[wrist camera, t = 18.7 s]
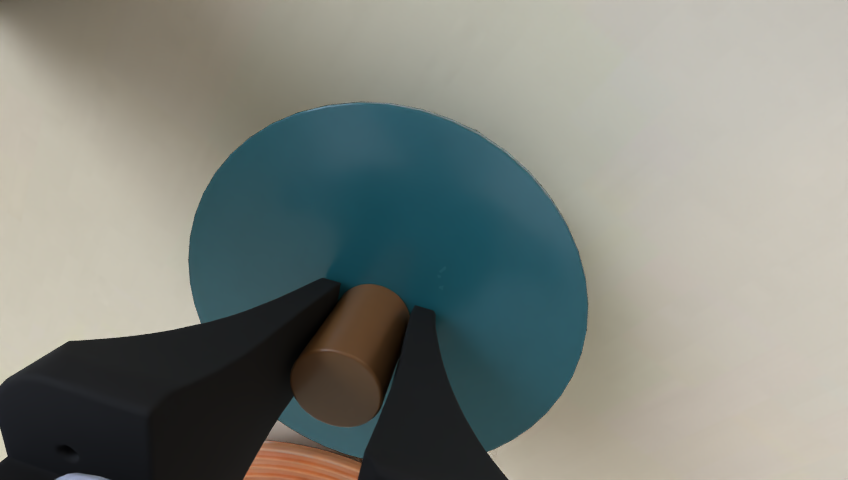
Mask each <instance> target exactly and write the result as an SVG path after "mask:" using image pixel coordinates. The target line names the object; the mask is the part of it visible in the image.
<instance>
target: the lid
mask: <svg viewBox="0 0 848 480" xmlns="http://www.w3.org/2000/svg"><path fill="white" fill-rule="evenodd" d="M188 261H189V275H190V285H191V290H192V295H193V299H194V304H195V307H196V310H197V313H198V316H199V319H200V322H201V324H202V323H207V322H211V321H214V320H218V319H221V318H225V317H228V316H231V315H235V314H238V313H241V312H244V311H246V310H249V309H252V308H254V307H257V306H259V305H262V304H264V303H267V302H269V301H272V300H275V299H277V298H279V297H281V296H284V295H286V294H288V293H290V292H292V291H295V290H297V289H299V288H301V287H303V286H305V285H307V284H310V283H312V282H314V281H316V280H318V279H321V278H326V279H329V280H333V281H336V282H339V283H341V285H340V291H339V297H338V303H337V304H336V306H335V307H334V308H333V310H332V311H331V312H330V314H329V315H328V317H327V318H326V319H325V321H324V322H323V324H322V325H321V326H320V328H319V329H318V331H317V332H316V333H315V335H314V336H313V337H312V339H311V340H310V342H309V343H308V344H307V346H306V347H305V349H304V350H303V351H302V353H301V354H300V356H299V357H298V358H297V360H296V361H295V363H294V364H293V367H292V369H291V373H290V386H291V390H292V393H293V395H294V397H293V398H292V400H291V401H290V402H289V404H288V405H287V407H286V408H285V410H284V411H283V412H282V414H281V415H280V417H279V418H278V420H279V421H280V422H282V423H283V424H284V425H286V426H288V427H289V428H291V429H293V430H294V431H296V432H298V433H299V434H301V435H303V436H304V437H306V438H308V439H310V440H313V441H315V442H317V443H319V444H321V445H323V446H325V447H328V448H331V449H333V450H336V451H339V452H341V453H344V454H347V455H351V456H355V457H358V458H362V459H363V456H364V452H365V449H366V447H367V445H368V443H369V440H370V438H371V436H372V433H373V431H374V429H375V426H376V424H377V422H378V419H379V417H380V414H381V412H382V409H383V407H384V404H385V402H386V399H387V397H388V394H389V392H390V389H391V386H392V382H393V379H394V375H395V371H396V367H397V363H398V359H399V356H400V352H401V348H402V344H403V340H404V336H405V333H406V329H407V325H408V321H409V317H410V314H411V312H412V310H413V308H414V306H415V305H416V306H420V307H423V308H426V309H430V310H433V311H434V312H435V314H436V331H437V338H438V344H439V348H440V352H441V357H442V360H443V364H444V367H445V370H446V374H447V377H448V379H449V382H450V385H451V387H452V390H453V392H454V395H455V397H456V399H457V402H458V404H459V406H460V408H461V410H462V412H463V414H464V416H465V418H466V419H467V421H468V423H469V425H470V426H471V428H472V430H473V432H474V433H475V435H476V437H477V439H478V440H479V442H480V443H481V445H482V446H483V448H484V449H485V451H486V452H488V451H491V450H494V449H496V448H498V447H500V446H501V445H503V444H505V443H507V442H509V441H511V440H513V439H515V438H516V437H518V436H519V435H520V434H522V433H523V432H525V431H526V430H528V429H529V428H531V427H532V426H533V425H534V424H535V423H536V422H537V421H538V420H539V419H541V418H542V417H543V416H544V415H545V414H546V413H547V412H548V411H549V410H550V408H551V407H552V406H553V405H554V403H555V402H556V401H557V400H558V399H559V397H560V396H561V395H562V393H563V391H564V390H565V388H566V386H567V385H568V383H569V381H570V379H571V378H572V376H573V374H574V371H575V369H576V366H577V364H578V361H579V359H580V356H581V354H582V349H583V345H584V340H585V336H586V331H587V318H588V297H587V287H586V278H585V274H584V270H583V266H582V263H581V259H580V255H579V251H578V249H577V247H576V244H575V242H574V240H573V237H572V235H571V233H570V231H569V228H568V226H567V224H566V222H565V220H564V218H563V217H562V215H561V213H560V212H559V210H558V208H557V207H556V205H555V204H554V202H553V200H552V199H551V197H550V196H549V194H548V193H547V192H546V191H545V190H544V188H543V187H542V186H541V185H540V184H539V182H538V181H537V180H536V179H535V178H534V176H533V175H532V174H531V173H530V172H529V171H528V170H527V169H526V168H525V167H524V166H523V165H521V164H520V163H519V162H518V161H517V160H516V159H515V158H514V157H513V156H511V155H510V154H509V153H508V152H507V151H506V150H504V149H503V148H501V147H500V146H498V145H497V144H495V143H494V142H492V141H491V140H489V139H488V138H487V137H485V136H484V135H482V134H481V133H479V132H477V131H475V130H473V129H471V128H469V127H467V126H465V125H463V124H461V123H459V122H457V121H455V120H453V119H450V118H447V117H444V116H441V115H438V114H435V113H432V112H429V111H426V110H423V109H419V108H414V107H409V106H403V105H398V104H393V103H377V102H353V103H343V104H332V105H326V106H322V107H318V108H314V109H310V110H306V111H302V112H298V113H295V114H293V115H291V116H288V117H286V118H284V119H281V120H279V121H276V122H274V123H272V124H270V125H269V126H267V127H266V128H264V129H262V130H261V131H259V132H258V133H256V134H254V135H253V136H251V137H250V138H249V139H247V140H246V141H245V142H244V143H243V144H242V145H241V146H239V147H238V148H237V149H236V150H235V151H234V152H233V153H231V154H230V156H229V157H228V158H227V159H226V160H225V162H224V163H223V164H222V165H221V167H220V168H219V169H218V170H217V171H216V173H215V174H214V176H213V178H212V179H211V181H210V183H209V185H208V186H207V188H206V190H205V191H204V193H203V195H202V198H201V201H200V203H199V206H198V208H197V211H196V214H195V217H194V221H193V226H192V230H191V235H190V244H189V259H188Z"/></svg>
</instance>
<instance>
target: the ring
mask: <svg viewBox="0 0 848 480" xmlns="http://www.w3.org/2000/svg"><path fill="white" fill-rule="evenodd" d="M361 464H362V463H360V462H357V461H355V460H352V459H350V458H347V457H344V456H341V455H338V454H335V453H332V452H329V451H325V450H321V449H317V448H313V447H308V446H303V445H298V444H293V443H285V442H276V441H264V443H263V445H262V446H261V448H260V450H259V452H258V453H257V455H256V457H255V459H254V461H253V462H252V464H251V466H250V468H249V470H248V472H247V473H246V475H245V477H244V479H243V480H358V476H359V472H360V468H361Z"/></svg>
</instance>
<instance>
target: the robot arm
mask: <svg viewBox="0 0 848 480" xmlns="http://www.w3.org/2000/svg"><path fill="white" fill-rule="evenodd" d="M340 285H341V283H339V282H336V281H333V280H329V279H326V278H321V279H318V280H316V281H314V282H312V283H310V284H307V285H305V286H303V287H301V288H299V289H297V290H295V291H292V292H290V293H288V294H286V295H284V296H281V297H279V298H277V299H275V300H272V301H269V302H267V303H264V304H262V305H259V306H257V307H254V308H252V309H249V310H246V311H244V312H241V313H238V314H235V315H231V316H228V317H225V318H221V319H218V320H214V321H211V322H207V323H202V324H198V325H193V326H189V327H184V328H179V329H175V330H170V331H164V332H158V333H151V334H144V335H137V336H129V337H120V338H107V339H94V340H81V341H68V342H67V343H65V344H63V345H62V346H60V347H58V348H57V349H55V350H53V351H52V352H50V353H48V354H47V355H45V356H43V357H42V358H40V359H39V360H37V361H35V362H34V363H32V364H30V365H29V366H27V367H25V368H24V369H22V370H20V371H19V372H17V373H16V374H14V375H12V376H11V377H9V378H7V379H6V380H5V381H4V382H3V383H2V384H1V385H0V429H1V432H2V436H3V440H4V444H5V448H6V452H7V455H8V457H6V458H5V459H4V460H3V461H1V462H0V480H243V479H244V477H245V475H246V473H247V472H248V470H249V468H250V466H251V464H252V462H253V461H254V459H255V457H256V455H257V453H258V452H259V450H260V448H261V446H262V445H263V443H264V441H265V439H266V437H267V436H268V434H269V432H270V431H271V429H272V427H273V426H274V424H275V423H276V421H277V420H278V418H279V417H280V415H281V414H282V412H283V411H284V410H285V408H286V407H287V405H288V404H289V402H290V401H291V400H292V398H293V397H294V395H293V393H292V390H291V386H290V373H291V369H292V367H293V364H294V363H295V361H296V360H297V358H298V357H299V356H300V354H301V353H302V351H303V350H304V349H305V347H306V346H307V344H308V343H309V342H310V340H311V339H312V337H313V336H314V335H315V333H316V332H317V331H318V329H319V328H320V326H321V325H322V324H323V322H324V321H325V319H326V318H327V317H328V315H329V314H330V312H331V311H332V310H333V308H334V307H335V306H336V304H337V303H338V297H339V291H340ZM358 480H508V479H507V478H506V476H505V475H504V474H503V473H502V471H501V470H500V469H499V468H498V466H497V465H496V464H495V463H494V461H493V460H492V459H491V458H490V456H489V455H488V453H487V452H486V451H485V449H484V448H483V446H482V445H481V443H480V442H479V440H478V439H477V437H476V435H475V433H474V432H473V430H472V428H471V426H470V425H469V423H468V421H467V419H466V418H465V416H464V414H463V412H462V410H461V408H460V406H459V404H458V402H457V399H456V397H455V395H454V392H453V390H452V387H451V385H450V382H449V379H448V377H447V374H446V370H445V367H444V364H443V360H442V357H441V352H440V348H439V344H438V338H437V331H436V314H435V312H434V311H433V310H430V309H426V308H423V307H420V306H416V305H415V306H414V308H413V310H412V312H411V314H410V317H409V321H408V325H407V329H406V333H405V336H404V340H403V344H402V348H401V352H400V356H399V359H398V363H397V367H396V371H395V375H394V379H393V382H392V386H391V389H390V392H389V394H388V397H387V399H386V402H385V404H384V407H383V409H382V412H381V414H380V417H379V419H378V422H377V424H376V426H375V429H374V431H373V433H372V436H371V438H370V440H369V443H368V445H367V447H366V449H365V452H364V456H363V460H362V464H361V468H360V472H359V476H358Z"/></svg>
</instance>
